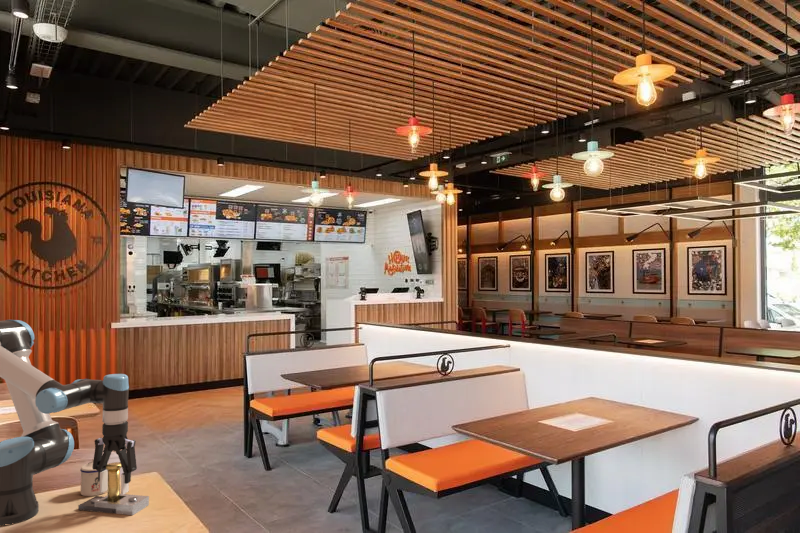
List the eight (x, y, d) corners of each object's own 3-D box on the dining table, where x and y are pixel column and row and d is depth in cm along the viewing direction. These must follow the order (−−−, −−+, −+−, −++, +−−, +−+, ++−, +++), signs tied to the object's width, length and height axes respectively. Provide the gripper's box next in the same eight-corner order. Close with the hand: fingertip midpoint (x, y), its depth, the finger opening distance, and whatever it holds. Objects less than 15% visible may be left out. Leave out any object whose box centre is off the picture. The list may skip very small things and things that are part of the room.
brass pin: (101, 509, 182) (102, 466, 182) (112, 504, 186) (112, 461, 187) (114, 511, 181) (115, 467, 181) (125, 505, 186) (125, 462, 186)
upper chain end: (94, 511, 181) (94, 500, 181) (111, 501, 188) (112, 491, 188) (132, 515, 178) (132, 504, 178) (148, 505, 186) (148, 494, 186)
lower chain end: (78, 509, 182) (78, 503, 182) (96, 500, 190) (96, 494, 190) (116, 513, 179) (116, 507, 179) (132, 503, 187) (132, 497, 187)
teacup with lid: (92, 498, 191) (93, 464, 192) (73, 494, 195) (74, 460, 195) (121, 486, 203) (122, 454, 203) (103, 483, 206) (103, 451, 206)
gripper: (149, 420, 186) (148, 490, 185) (97, 417, 190) (95, 485, 189) (134, 426, 179) (133, 498, 178) (80, 423, 183) (78, 493, 182)
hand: (114, 491), depth 184 cm, fingers open, 7 cm apart
